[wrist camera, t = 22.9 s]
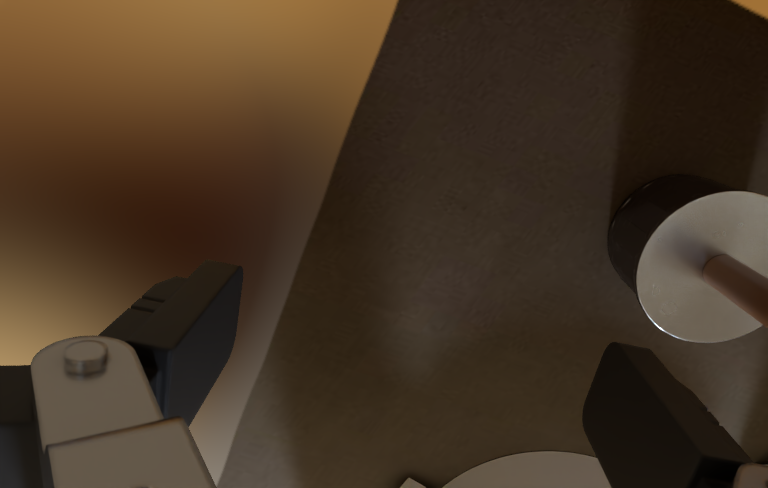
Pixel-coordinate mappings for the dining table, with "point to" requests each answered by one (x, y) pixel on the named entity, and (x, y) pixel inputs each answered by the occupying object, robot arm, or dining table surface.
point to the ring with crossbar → (531, 472)
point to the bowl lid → (707, 267)
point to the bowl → (649, 216)
